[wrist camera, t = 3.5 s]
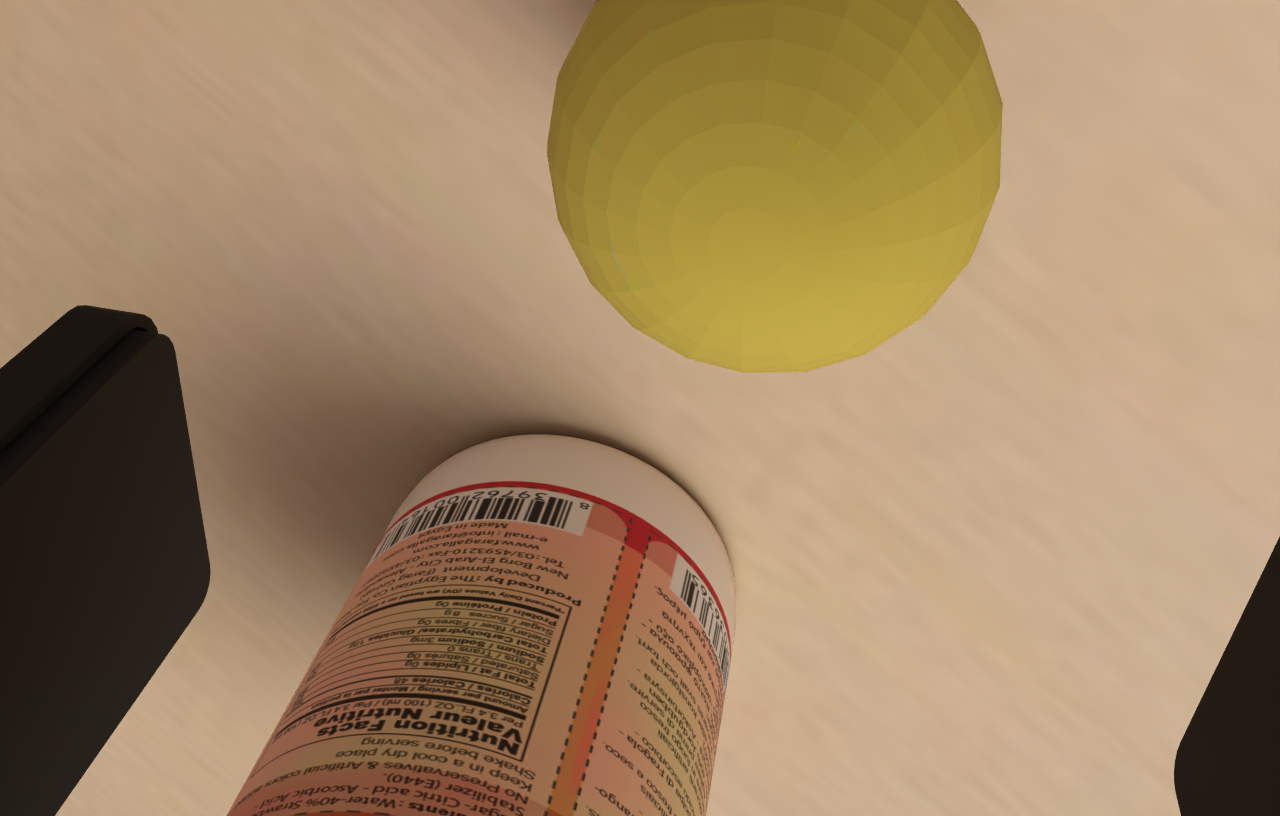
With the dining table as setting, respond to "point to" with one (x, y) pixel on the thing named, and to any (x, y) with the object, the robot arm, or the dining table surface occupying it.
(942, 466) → the dining table surface
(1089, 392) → the dining table surface
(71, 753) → the robot arm
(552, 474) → the fruit juice
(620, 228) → the light bulb
